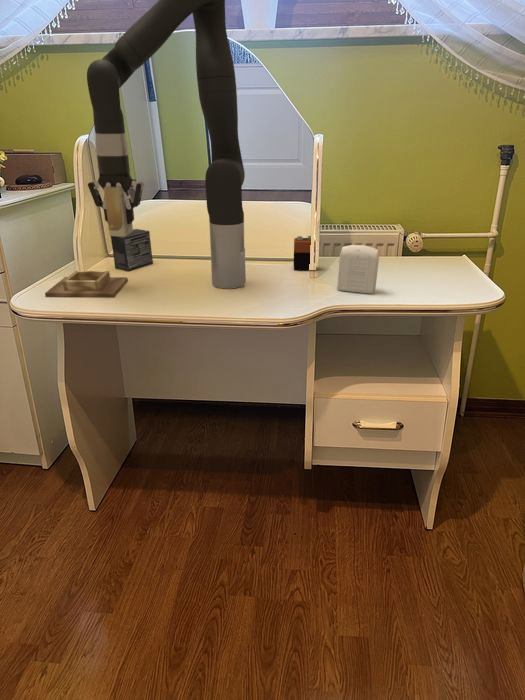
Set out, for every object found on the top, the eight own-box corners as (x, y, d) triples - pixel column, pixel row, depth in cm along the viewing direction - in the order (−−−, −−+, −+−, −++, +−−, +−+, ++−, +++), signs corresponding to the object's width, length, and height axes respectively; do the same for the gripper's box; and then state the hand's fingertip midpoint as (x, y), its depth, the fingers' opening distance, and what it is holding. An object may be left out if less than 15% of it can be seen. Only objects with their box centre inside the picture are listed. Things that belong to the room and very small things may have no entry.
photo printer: (376, 290, 140) (380, 244, 135) (374, 295, 136) (379, 248, 131) (338, 286, 143) (341, 242, 138) (335, 291, 139) (338, 245, 134)
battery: (316, 271, 156) (317, 238, 152) (293, 271, 156) (294, 238, 152) (315, 267, 160) (316, 234, 156) (293, 266, 160) (294, 234, 156)
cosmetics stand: (127, 280, 148) (126, 268, 146) (113, 297, 135) (112, 284, 133) (65, 280, 148) (63, 268, 146) (45, 296, 135) (43, 284, 134)
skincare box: (118, 230, 139) (112, 183, 133) (133, 231, 138) (129, 184, 133) (108, 236, 133) (102, 187, 128) (124, 237, 132) (119, 187, 127)
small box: (139, 260, 167) (136, 227, 162) (154, 263, 163) (150, 230, 159) (113, 268, 159) (109, 234, 154) (128, 271, 156) (123, 237, 151)
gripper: (144, 152, 130) (150, 220, 138) (88, 151, 131) (97, 219, 138) (137, 155, 123) (143, 226, 131) (78, 154, 124) (87, 226, 131)
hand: (119, 222), depth 134 cm, fingers closed on skincare box, 4 cm apart
